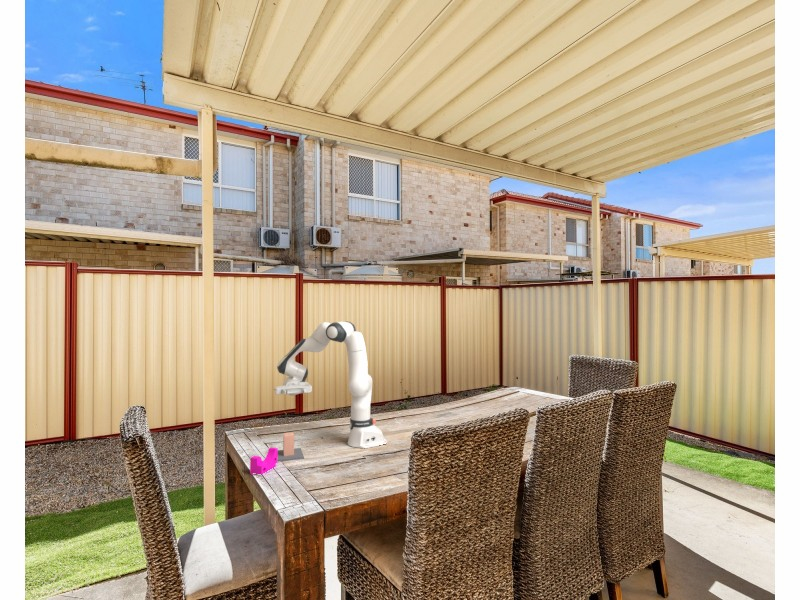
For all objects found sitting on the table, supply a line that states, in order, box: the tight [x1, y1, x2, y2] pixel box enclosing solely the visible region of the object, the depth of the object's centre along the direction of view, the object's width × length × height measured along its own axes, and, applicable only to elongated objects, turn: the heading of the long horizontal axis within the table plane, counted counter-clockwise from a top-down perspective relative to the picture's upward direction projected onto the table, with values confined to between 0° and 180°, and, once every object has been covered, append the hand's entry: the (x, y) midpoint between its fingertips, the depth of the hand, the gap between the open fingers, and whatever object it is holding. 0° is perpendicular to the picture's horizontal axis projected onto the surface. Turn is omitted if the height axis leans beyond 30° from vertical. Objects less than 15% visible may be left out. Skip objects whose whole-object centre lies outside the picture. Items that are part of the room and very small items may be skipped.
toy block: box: [249, 447, 278, 475], centre depth 187 cm, size 15×6×8 cm, turn 161°
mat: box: [277, 447, 305, 462], centre depth 204 cm, size 14×14×1 cm
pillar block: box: [282, 432, 295, 456], centre depth 204 cm, size 5×5×10 cm
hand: (294, 392), depth 217 cm, fingers open, 8 cm apart
